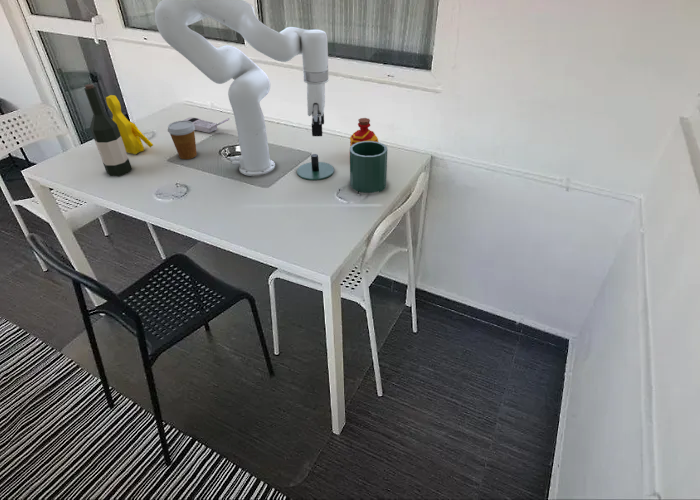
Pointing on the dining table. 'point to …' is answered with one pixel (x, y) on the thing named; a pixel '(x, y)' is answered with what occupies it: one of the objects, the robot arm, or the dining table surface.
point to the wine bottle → (107, 137)
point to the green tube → (368, 166)
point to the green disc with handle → (315, 169)
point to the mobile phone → (204, 124)
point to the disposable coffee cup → (183, 138)
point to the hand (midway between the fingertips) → (318, 129)
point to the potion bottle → (363, 132)
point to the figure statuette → (126, 128)
